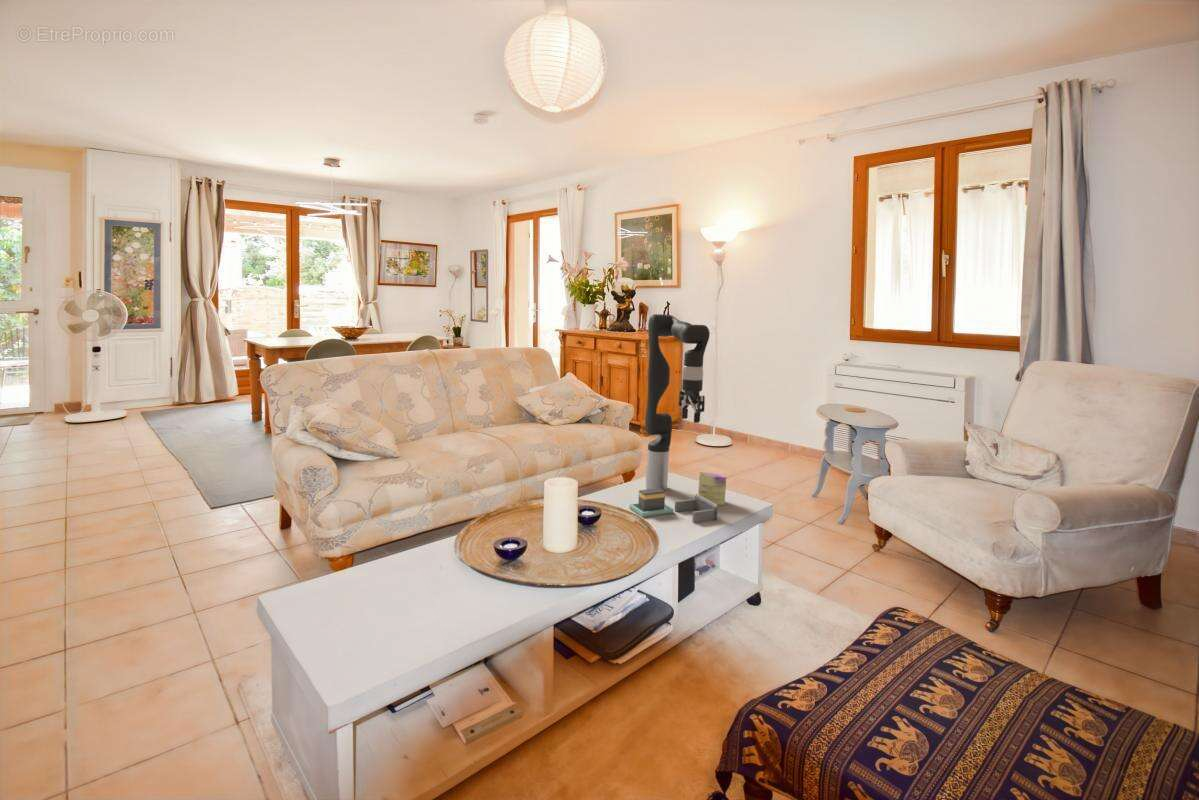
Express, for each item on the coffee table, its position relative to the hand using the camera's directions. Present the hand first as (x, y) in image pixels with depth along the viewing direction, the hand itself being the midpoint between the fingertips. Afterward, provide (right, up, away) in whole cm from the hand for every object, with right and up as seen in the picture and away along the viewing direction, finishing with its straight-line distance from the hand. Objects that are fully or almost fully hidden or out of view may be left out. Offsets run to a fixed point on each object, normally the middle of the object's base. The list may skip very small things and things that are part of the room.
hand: (690, 420), depth 225 cm
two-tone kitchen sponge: (-14, -35, +5) cm, 38 cm away
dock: (+2, -36, +2) cm, 36 cm away
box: (+11, -34, +18) cm, 40 cm away
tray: (-14, -35, +5) cm, 39 cm away
